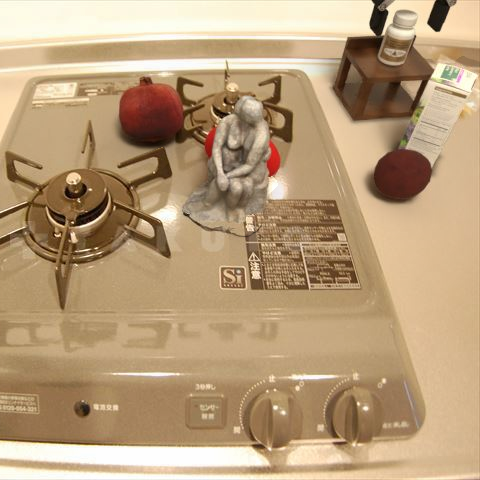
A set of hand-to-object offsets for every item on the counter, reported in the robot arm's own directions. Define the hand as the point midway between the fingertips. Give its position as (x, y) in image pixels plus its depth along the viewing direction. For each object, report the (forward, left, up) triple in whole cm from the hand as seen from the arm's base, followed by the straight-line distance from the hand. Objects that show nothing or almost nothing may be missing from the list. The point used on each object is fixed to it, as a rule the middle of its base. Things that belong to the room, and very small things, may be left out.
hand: (404, 30), depth 87 cm
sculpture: (+39, +24, -4) cm, 46 cm away
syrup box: (+1, +16, -14) cm, 21 cm away
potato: (+7, +23, -14) cm, 28 cm away
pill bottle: (0, 0, -6) cm, 5 cm away
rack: (0, 0, -13) cm, 13 cm away
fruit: (+41, +7, -13) cm, 43 cm away
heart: (+30, +17, -4) cm, 35 cm away
